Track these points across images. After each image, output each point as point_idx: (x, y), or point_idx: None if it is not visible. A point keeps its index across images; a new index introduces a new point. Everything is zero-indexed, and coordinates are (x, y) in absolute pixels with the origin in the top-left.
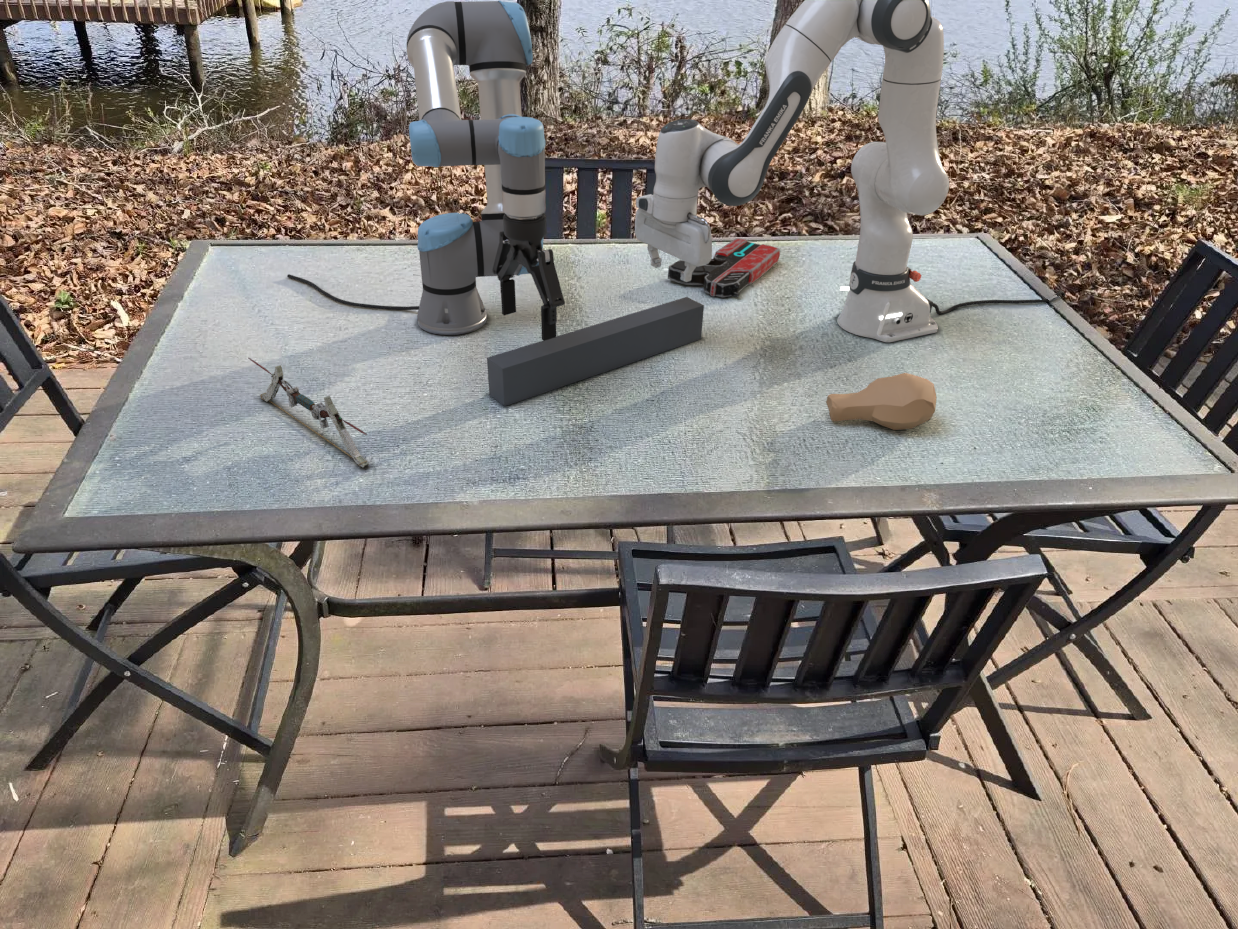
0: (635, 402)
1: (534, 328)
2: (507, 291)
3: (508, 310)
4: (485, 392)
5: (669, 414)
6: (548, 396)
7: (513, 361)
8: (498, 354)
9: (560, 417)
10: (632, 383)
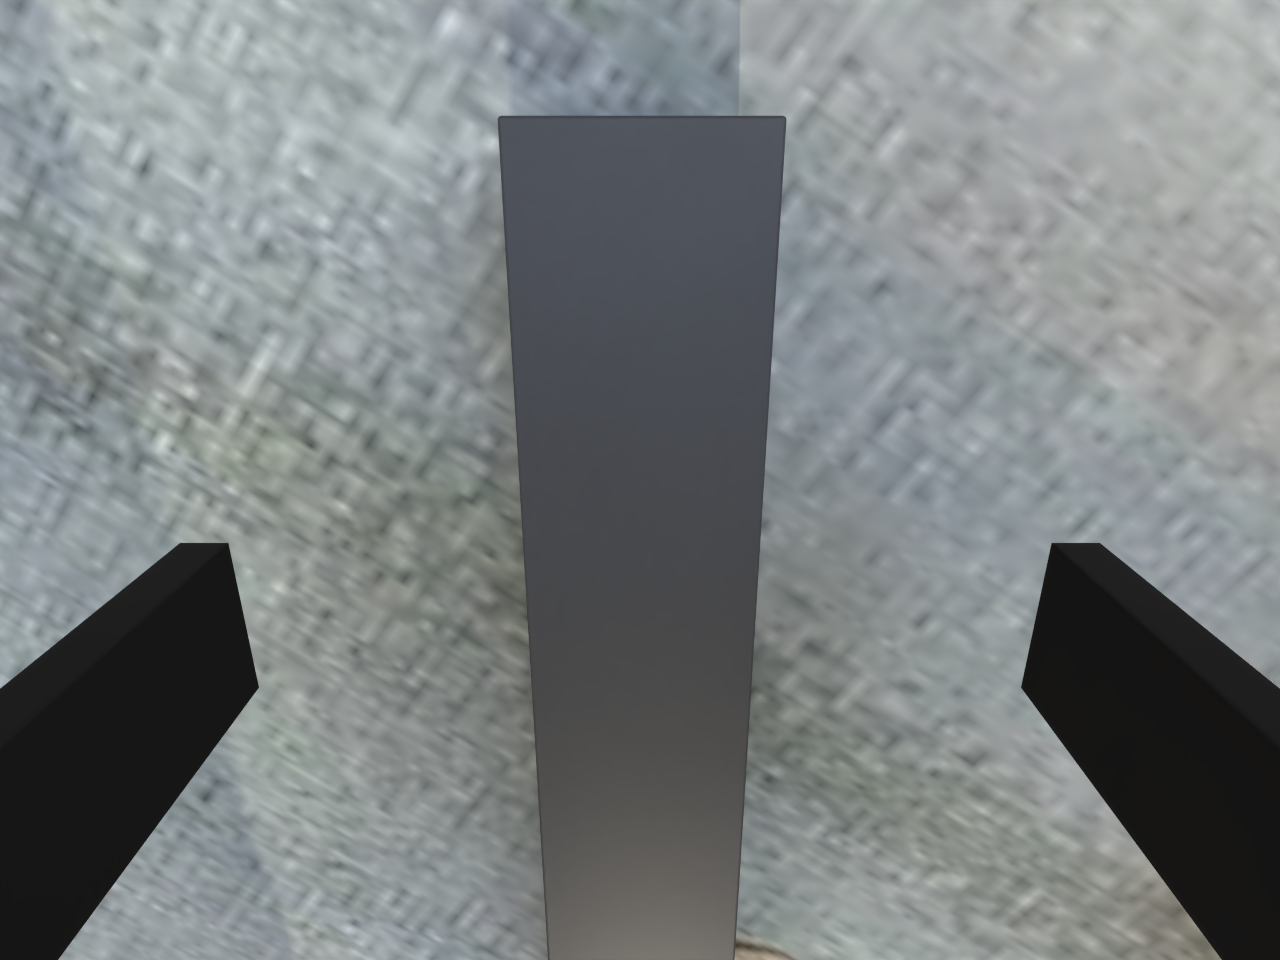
0: None
1: None
2: (1244, 819)
3: (1062, 624)
4: None
5: None
6: (508, 430)
7: (571, 286)
8: (769, 248)
9: (254, 350)
10: (400, 819)
